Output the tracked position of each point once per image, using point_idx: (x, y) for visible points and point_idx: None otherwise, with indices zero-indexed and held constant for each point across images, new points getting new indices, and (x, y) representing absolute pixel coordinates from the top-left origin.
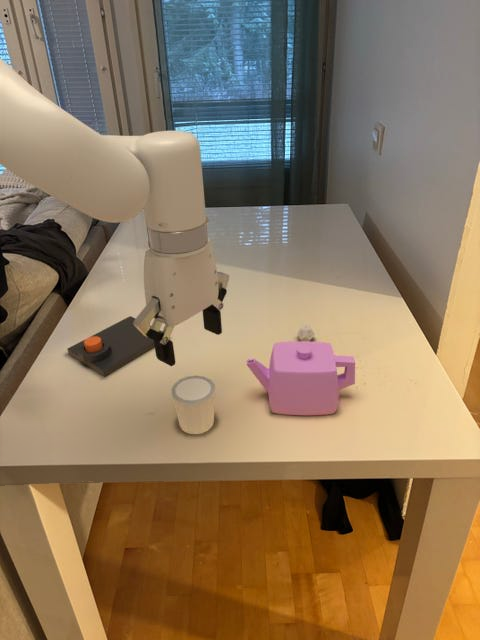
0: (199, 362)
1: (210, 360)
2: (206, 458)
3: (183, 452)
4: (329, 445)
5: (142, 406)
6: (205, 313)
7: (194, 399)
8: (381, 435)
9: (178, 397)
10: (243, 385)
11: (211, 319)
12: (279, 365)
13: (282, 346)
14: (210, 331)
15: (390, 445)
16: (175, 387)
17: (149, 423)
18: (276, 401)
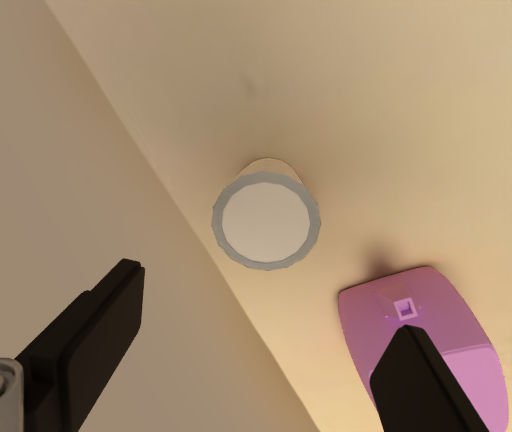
0: (471, 85)
1: (485, 110)
2: (204, 243)
3: (195, 206)
4: (302, 366)
5: (260, 49)
6: (439, 429)
7: (234, 244)
8: (343, 406)
9: (221, 210)
10: (400, 223)
11: (408, 428)
12: None
13: (475, 363)
14: (385, 351)
15: (329, 414)
16: (249, 184)
17: (223, 104)
18: (341, 321)
